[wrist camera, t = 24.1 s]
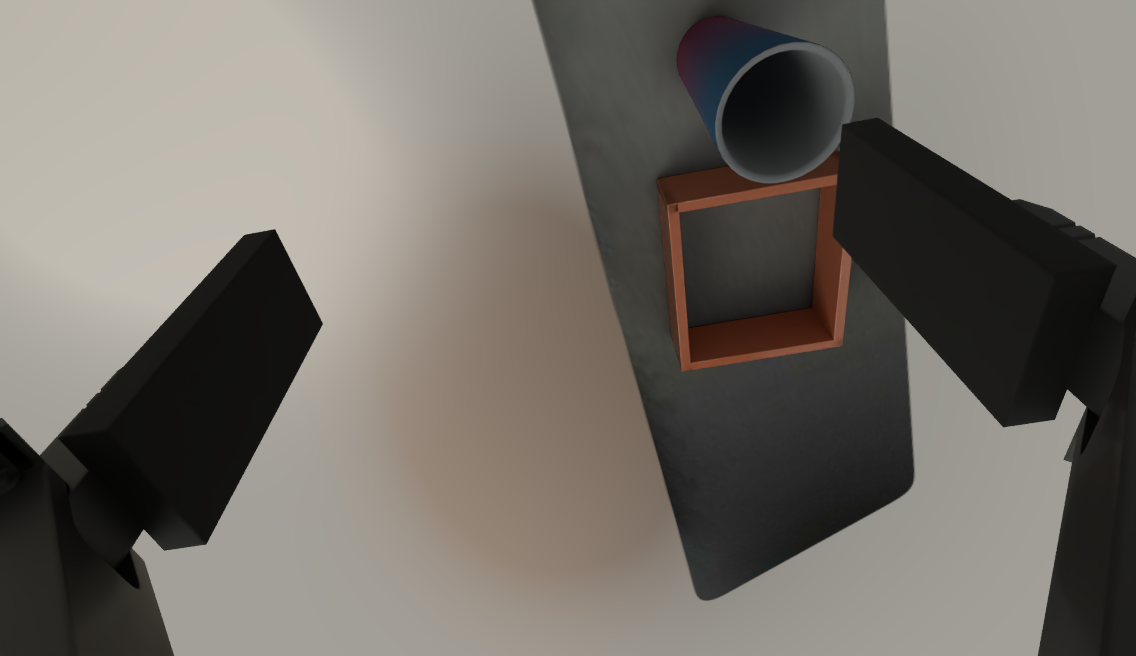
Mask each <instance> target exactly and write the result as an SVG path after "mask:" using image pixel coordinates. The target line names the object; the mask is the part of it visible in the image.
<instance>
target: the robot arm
mask: <svg viewBox="0 0 1136 656" xmlns="http://www.w3.org/2000/svg"><path fill="white" fill-rule="evenodd" d="M832 236H833V237H834V239H835V240H836V241H837V242H838V243H839V244H840V245H841V246H842V248H843V249H844V250H845V251H846V252H847V253H848V254H849V255H850V256H851V258H852V259H853V260H854V261H855V262H856V263H857V264H858V265H859V267H860V268H861V269H862V270H863V271H864V272H865V273H866V274H867V275H868V277H869V278H870V279H871V280H872V281H873V282H874V283H875V284H876V286H877V287H878V288H879V289H880V290H881V291H882V292H883V293H884V294H885V296H886V297H887V298H888V299H889V300H890V301H891V302H892V303H893V305H894V306H895V307H896V308H897V309H898V310H899V311H900V312H901V313H902V315H903V316H904V317H905V318H906V319H907V320H908V321H909V322H910V323H911V325H912V326H913V327H914V328H915V329H916V330H917V331H918V332H919V334H920V335H921V336H922V337H923V338H924V339H925V340H926V341H927V343H928V344H929V345H930V346H931V347H932V348H933V349H934V350H935V351H936V352H937V354H938V355H939V356H940V357H941V358H942V359H943V360H944V361H945V362H946V364H947V365H948V366H949V367H950V368H951V369H952V371H953V372H954V373H955V374H956V375H957V376H958V377H959V378H960V379H961V381H962V382H963V383H964V384H965V385H966V386H967V387H968V388H969V390H971V392H972V393H973V394H974V395H975V396H976V397H977V398H978V400H980V402H981V403H982V404H983V405H984V406H985V407H986V409H987V410H988V411H989V412H990V413H991V414H992V415H993V416H994V418H995V419H996V420H997V421H998V422H999V423H1000V424H1001V425H1002V426H1003V427H1008V426H1015V425H1022V424H1028V423H1036V422H1042V421H1049V420H1055V418H1056V415H1057V413H1058V410H1059V408H1060V405H1061V403H1062V400H1063V398H1064V396H1065V393H1066V391H1067V389H1068V390H1069V391H1070V392H1071V393H1072V394H1073V395H1074V396H1076V397H1077V398H1078V399H1079V400H1080V401H1081V402H1082V403H1083V404H1084V405H1085V406H1087V407H1086V410H1085V412H1084V414H1083V416H1082V419H1081V421H1080V423H1079V426H1078V428H1077V430H1076V433H1075V435H1074V437H1073V439H1072V442H1071V444H1070V446H1069V448H1068V451H1067V453H1066V455H1065V457H1064V460H1066V461H1069V462H1072V466H1071V472H1070V477H1069V483H1068V489H1067V494H1066V500H1065V506H1064V511H1063V517H1062V523H1061V528H1060V534H1059V540H1058V545H1057V551H1056V556H1055V562H1054V568H1053V574H1052V579H1051V585H1050V591H1049V596H1048V602H1047V607H1046V613H1045V619H1044V624H1043V630H1042V636H1041V641H1040V647H1039V652H1038V656H1136V258H1135V257H1133V256H1132V255H1130V254H1128V253H1126V252H1125V251H1123V250H1121V249H1119V248H1118V247H1116V246H1114V245H1113V244H1111V243H1109V242H1108V241H1106V240H1104V239H1102V238H1101V237H1097V238H1095V234H1094V233H1092V232H1091V231H1089V230H1087V229H1085V228H1084V227H1082V226H1076V225H1075V222H1073V221H1072V220H1070V219H1068V218H1066V217H1065V216H1063V215H1061V214H1060V213H1058V212H1056V211H1054V210H1053V209H1050V208H1047V207H1044V206H1040V205H1037V204H1034V203H1030V202H1027V201H1024V200H1020V199H1019V200H1010V199H1009V198H1007V197H1006V196H1004V195H1002V194H1001V193H999V192H997V191H996V190H994V189H993V188H991V187H989V186H988V185H986V184H984V183H983V182H981V181H979V180H978V179H976V178H974V177H973V176H971V175H970V174H968V173H967V172H965V171H963V170H962V169H960V168H958V167H957V166H955V165H953V164H952V163H950V162H949V161H947V160H945V159H944V158H942V157H941V156H939V155H937V154H936V153H934V152H932V151H931V150H929V149H928V148H926V147H924V146H923V145H921V144H919V143H918V142H916V141H915V140H913V139H911V138H910V137H908V136H906V135H905V134H903V133H902V132H900V131H898V130H897V129H895V128H893V127H892V126H890V125H889V124H887V123H885V122H884V121H882V120H880V119H879V118H873V119H868V120H862V121H857V122H852V123H846V124H842V129H841V141H840V153H839V164H838V176H837V187H836V199H835V210H834V222H833V234H832ZM322 325H323V323H322V321H321V319H320V317H319V315H318V313H317V311H316V309H315V307H314V306H313V303H312V301H311V299H310V297H309V295H308V293H307V291H306V289H305V287H304V286H303V283H302V282H301V280H300V278H299V276H298V274H297V272H296V270H295V268H294V266H293V264H292V262H291V260H290V258H289V256H288V254H287V252H286V250H285V248H284V246H283V244H282V242H281V240H280V238H279V236H278V234H277V232H276V230H275V229H274V230H269V231H263V232H258V233H252V234H247V235H244V236H243V237H242V238H241V239H240V240H239V241H238V242H237V243H236V245H235V246H234V247H233V248H232V249H231V250H230V251H229V252H228V253H227V254H226V255H225V257H224V258H223V259H222V260H221V261H220V262H219V263H218V264H217V265H216V266H215V268H214V269H213V270H212V271H211V272H210V273H209V274H208V275H207V276H206V277H205V278H204V279H203V281H202V282H201V283H200V284H199V285H198V286H197V287H196V288H195V289H194V290H193V291H192V293H191V294H190V295H189V296H188V297H187V298H186V299H185V300H184V301H183V302H182V304H181V305H180V306H179V307H178V308H177V309H176V310H175V311H174V312H173V313H172V314H171V316H170V317H169V318H168V319H167V320H166V321H165V322H164V323H163V324H162V325H161V326H160V327H159V329H158V330H157V331H156V332H155V333H154V334H153V335H152V336H151V337H150V338H149V340H147V342H146V343H145V344H144V345H143V346H142V347H141V348H140V349H139V350H138V351H137V352H136V354H135V355H134V356H133V357H132V358H131V359H130V360H129V361H128V362H127V363H126V364H125V366H124V367H122V368H121V369H120V370H118V371H117V372H116V373H115V374H114V375H113V377H112V378H111V379H110V380H109V381H108V382H107V383H106V384H105V385H104V386H103V387H102V388H101V392H100V393H97V394H96V395H95V396H94V397H93V398H92V399H91V400H90V401H89V403H88V404H87V407H86V408H85V409H82V410H81V412H79V413H78V415H77V416H76V417H75V418H74V419H73V420H72V421H71V422H70V423H69V424H68V425H67V427H66V428H65V429H64V430H63V431H62V432H61V433H60V434H59V435H58V437H56V438H55V439H54V441H53V442H52V443H51V444H50V445H49V446H48V447H47V448H46V449H45V451H43V453H42V454H41V455H40V456H39V455H38V454H37V453H36V452H35V451H34V450H33V449H32V448H31V447H30V446H29V445H28V444H27V442H25V440H24V439H22V438H21V436H20V435H19V434H18V433H17V432H15V430H13V428H12V427H11V426H9V424H7V422H6V421H5V420H4V419H2V418H0V656H174V654H173V651H172V648H171V645H170V641H169V638H168V635H167V632H166V629H165V626H164V622H163V619H162V616H161V613H160V610H159V606H158V603H157V600H156V597H155V594H154V591H153V588H152V584H151V581H150V578H149V575H148V572H147V568H146V565H145V562H144V561H143V559H142V558H141V557H140V556H139V555H138V554H137V553H136V552H135V551H134V550H133V549H132V546H133V545H134V543H135V542H136V540H137V539H138V537H139V535H140V534H141V532H142V531H143V529H144V530H145V531H146V532H147V533H148V534H149V535H150V536H151V537H152V538H153V539H154V540H155V541H156V542H157V544H158V545H159V546H160V547H161V548H162V549H163V550H172V549H178V548H185V547H191V546H199V545H206V544H207V542H208V540H209V538H210V536H211V534H212V532H213V531H214V529H215V527H216V525H217V523H218V521H219V519H220V517H221V515H222V514H223V511H224V510H225V508H226V506H227V504H228V502H229V500H230V498H231V496H232V495H233V493H234V491H235V489H236V487H237V485H238V483H239V481H240V479H241V478H242V475H243V474H244V472H245V470H246V468H247V466H248V464H249V462H250V461H251V459H252V457H253V455H254V453H255V451H256V449H257V447H258V445H259V444H260V442H261V440H262V438H263V436H264V434H265V432H266V430H267V429H268V427H269V425H270V423H271V421H272V419H273V417H274V415H275V413H276V412H277V410H278V408H279V406H280V404H281V402H282V400H283V398H284V396H285V394H286V393H287V391H288V389H289V387H290V385H291V383H292V381H293V379H294V378H295V376H296V374H297V372H298V370H299V368H300V366H301V364H302V362H303V360H304V359H305V357H306V355H307V353H308V351H309V349H310V347H311V345H312V343H313V342H314V340H315V338H316V336H317V334H318V332H319V330H320V328H321V326H322Z"/></svg>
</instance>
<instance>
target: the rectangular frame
mask: <svg viewBox="0 0 1136 656" xmlns="http://www.w3.org/2000/svg"><path fill="white" fill-rule="evenodd" d="M839 153H840V152H839V151H837V150H836V149H835V150H834V151H833V152H832V154H831V155H830V156H829V157H828V158H827V159H826V160H825V161H824V162H822V163H821V164H820V165H818V166H817V167H816V168H815V169H813V170H811V171H810V172H808V173H806V174H804V175H803V176H800V177H798V178H795V179H792V180H789V181H785V182H779V183H761V182H756V181H751V180H749V179H747V178H744V177H742V176H740V175H739V174H737V173H736V172H735V171H734V170H732V169H731V168H730V167H729V166H726V167H721V168H715V169H710V170H704V171H699V172H693V173H688V174H682V175H677V176H671V177H665V178H660V179H657V190H658V201H659V211H660V222H661V232H662V242H663V253H664V263H665V274H666V284H667V295H668V305H669V315H670V326H671V336H672V340H673V344H674V347H675V350H676V354H677V357H678V360H679V363H680V367H681V370H682V371H688V370H694V369H700V368H706V367H713V366H719V365H725V364H731V363H738V362H744V361H750V360H757V359H763V358H769V357H775V356H782V355H788V354H794V353H801V352H807V351H813V350H819V349H826V348H832V347H838V346H842V344H843V334H844V325H845V315H846V306H847V297H848V288H849V279H850V270H851V261H852V258H851V256H850V255H849V254H848V253H847V252H846V251H845V250H844V249H843V248H842V246H841V245H840V244H839V243H838V242H837V241H836V240H835V239H834V237H833V236H832V234H833V222H834V210H835V199H836V187H837V176H838V164H839ZM814 188H820V200H819V215H818V229H817V243H816V257H815V272H814V286H813V300H812V308H808V309H802V310H796V311H789V312H783V313H777V314H771V315H765V316H759V317H753V318H747V319H741V320H735V321H729V322H723V323H716V324H710V325H704V326H698V327H692V328H688V322H687V309H686V296H685V283H684V269H683V256H682V243H681V230H680V216H679V213H680V212H685V211H691V210H697V209H702V208H708V207H713V206H719V205H725V204H730V203H736V202H741V201H747V200H753V199H758V198H764V197H770V196H775V195H781V194H786V193H792V192H798V191H803V190H809V189H814Z"/></svg>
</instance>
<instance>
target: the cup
mask: <svg viewBox="0 0 1136 656" xmlns="http://www.w3.org/2000/svg"><path fill="white" fill-rule="evenodd" d="M677 68H678V72H679V75H680V77H681V79H682V81H683V83H684V85H685V86H686V88H687V90H688V92H689V94H690V96H691V98H692V100H693V102H694V104H695V106H696V108H697V109H698V111H699V113H700V115H701V117H702V119H703V121H704V123H705V125H706V127H707V129H708V131H709V132H710V134H711V136H712V138H713V140H714V142H715V144H716V146H717V148H718V150H719V152H720V154H721V155H722V157H723V159H724V161H725V162H726V163H727V164H728V166H729V167H730V168H731V169H732V170H734V171H735V172H736V173H737V174H739V175H740V176H742V177H744V178H747V179H749V180H751V181H756V182H761V183H779V182H785V181H789V180H792V179H795V178H798V177H800V176H803V175H804V174H806V173H808V172H810V171H811V170H813V169H815V168H816V167H817V166H818V165H820V164H821V163H822V162H824V161H825V160H826V159H827V158H828V157H829V156H830V155H831V154H832V152H833V151H834V150H835V149H836V148H837V146H838V145H839V143H840V141H841V129H842V124H846V123H850V121H851V118H852V114H853V110H854V100H855V95H854V85H853V81H852V78H851V75H850V72H849V70H848V69H847V67H846V65H845V64H844V62H843V61H842V60H841V59H840V58H839V57H838V56H837V55H836V54H835V53H834V52H833V51H831V50H829V49H827V48H825V47H824V46H822V45H819V44H815V43H812V42H809V41H805V40H802V39H798V38H795V37H792V36H788V35H785V34H781V33H778V32H775V31H771V30H768V29H764V28H761V27H758V26H754V25H751V24H747V23H744V22H741V21H737V20H734V19H730V18H727V17H723V16H714V17H709V18H706V19H704V20H701V21H699V22H698V23H696V24H695V25H694V26H693V27H692V28H691V29H690V30H688V32H687V33H686V35H685V36H684V37H683V39H682V41H681V43H680V46H679V49H678V54H677Z"/></svg>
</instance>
